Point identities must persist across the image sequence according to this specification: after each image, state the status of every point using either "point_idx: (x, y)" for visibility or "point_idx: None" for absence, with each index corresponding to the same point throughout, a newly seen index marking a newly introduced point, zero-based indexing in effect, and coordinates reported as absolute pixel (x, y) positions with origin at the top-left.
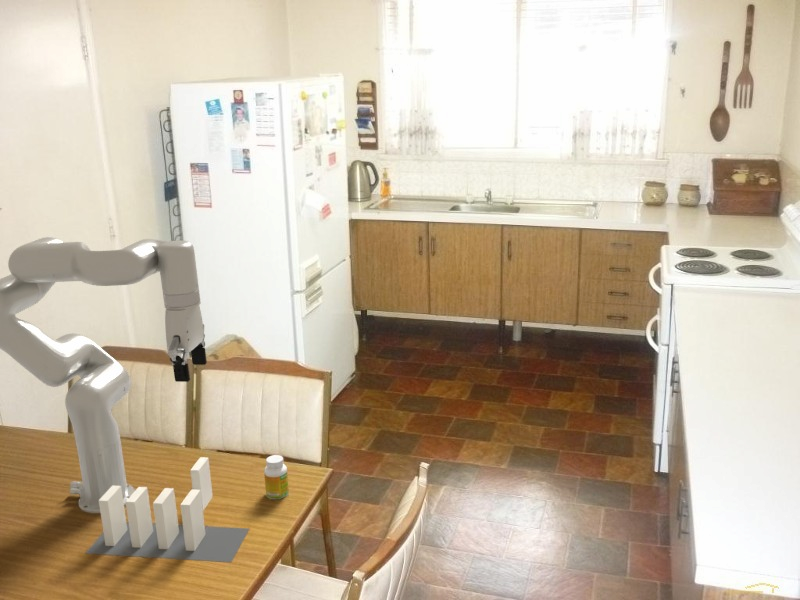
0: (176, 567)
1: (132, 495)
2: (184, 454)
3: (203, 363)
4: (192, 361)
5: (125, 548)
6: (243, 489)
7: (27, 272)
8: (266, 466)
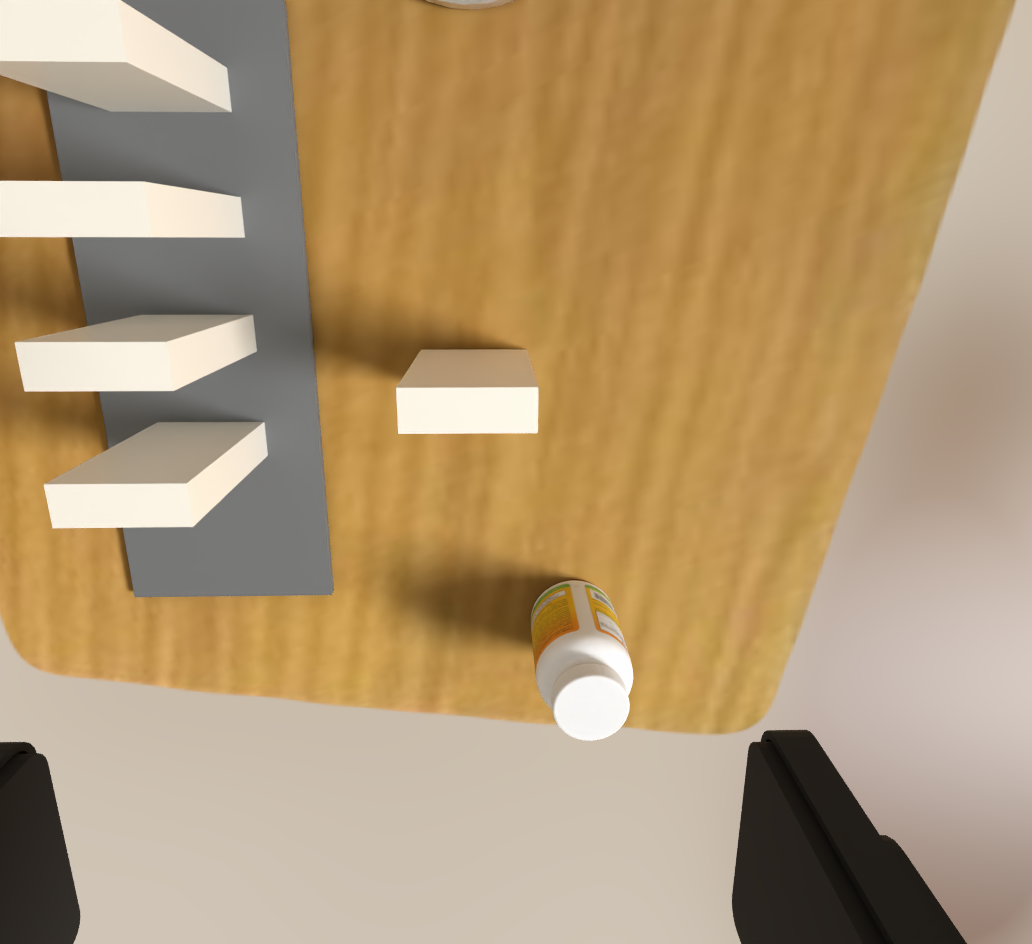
0: (75, 418)
1: (49, 190)
2: (926, 85)
3: (736, 910)
4: (773, 770)
5: (108, 171)
6: (606, 481)
7: None
8: (590, 648)
